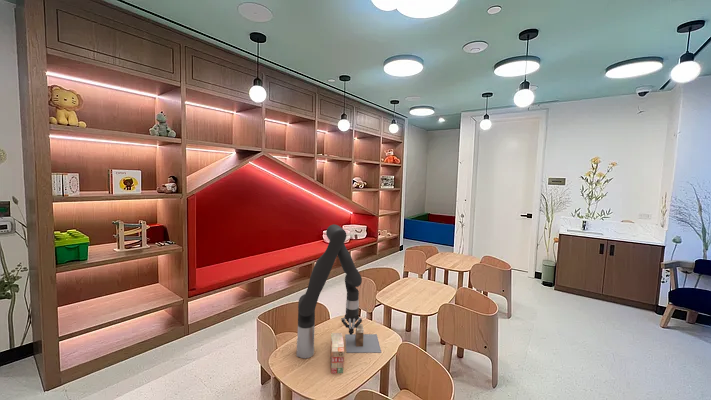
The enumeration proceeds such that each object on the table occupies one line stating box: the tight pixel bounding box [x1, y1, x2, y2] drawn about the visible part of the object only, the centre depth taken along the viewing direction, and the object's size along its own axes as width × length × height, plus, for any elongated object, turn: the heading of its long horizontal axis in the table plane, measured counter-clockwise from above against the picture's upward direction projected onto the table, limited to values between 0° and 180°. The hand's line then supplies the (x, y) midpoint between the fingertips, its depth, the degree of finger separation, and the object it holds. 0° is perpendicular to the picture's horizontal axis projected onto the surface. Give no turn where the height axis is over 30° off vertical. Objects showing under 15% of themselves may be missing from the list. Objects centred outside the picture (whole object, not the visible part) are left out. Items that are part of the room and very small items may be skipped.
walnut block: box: [355, 323, 365, 346], centre depth 173 cm, size 4×7×10 cm, turn 4°
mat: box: [344, 333, 382, 354], centre depth 173 cm, size 20×18×1 cm
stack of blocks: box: [330, 332, 345, 374], centre depth 157 cm, size 21×6×12 cm, turn 5°
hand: (351, 333), depth 172 cm, fingers closed
